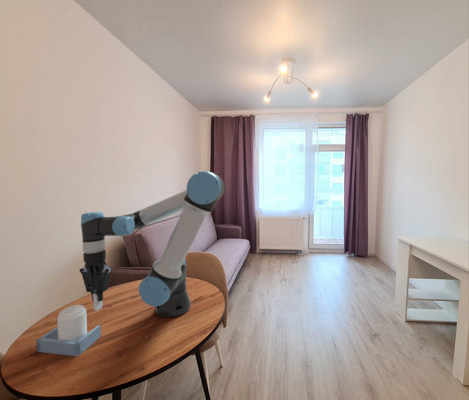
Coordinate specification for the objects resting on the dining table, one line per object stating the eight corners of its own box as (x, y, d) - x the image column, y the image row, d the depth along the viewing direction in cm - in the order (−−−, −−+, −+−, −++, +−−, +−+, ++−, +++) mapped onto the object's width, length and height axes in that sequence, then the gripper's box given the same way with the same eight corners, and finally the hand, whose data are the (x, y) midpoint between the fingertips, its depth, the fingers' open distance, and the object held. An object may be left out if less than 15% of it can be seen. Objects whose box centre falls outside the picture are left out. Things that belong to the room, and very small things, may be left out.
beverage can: (78, 350, 73) (77, 315, 72) (52, 352, 72) (51, 317, 72) (91, 335, 81) (90, 303, 81) (68, 336, 80) (67, 304, 80)
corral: (100, 336, 80) (100, 325, 80) (77, 356, 70) (77, 344, 70) (64, 332, 83) (64, 322, 82) (36, 351, 73) (36, 339, 73)
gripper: (115, 248, 90) (119, 304, 91) (87, 248, 92) (91, 303, 93) (102, 253, 82) (105, 314, 83) (72, 253, 84) (76, 313, 85)
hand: (98, 308), depth 88 cm, fingers closed
